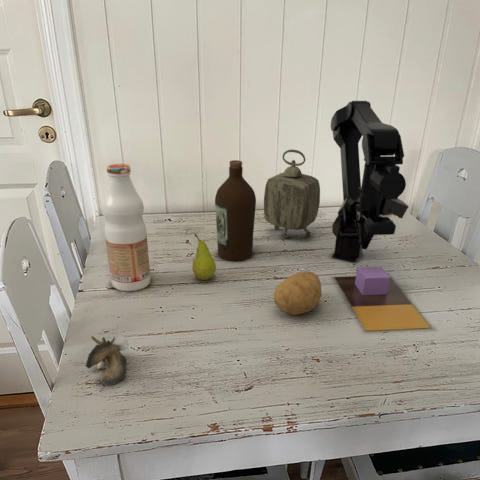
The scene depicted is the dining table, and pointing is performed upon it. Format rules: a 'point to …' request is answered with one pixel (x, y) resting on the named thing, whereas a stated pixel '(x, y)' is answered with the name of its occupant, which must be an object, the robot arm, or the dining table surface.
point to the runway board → (358, 299)
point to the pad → (390, 317)
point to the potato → (298, 293)
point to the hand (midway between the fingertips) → (364, 248)
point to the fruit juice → (125, 231)
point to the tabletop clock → (292, 198)
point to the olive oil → (235, 215)
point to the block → (372, 280)
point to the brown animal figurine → (109, 358)
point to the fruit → (203, 262)
